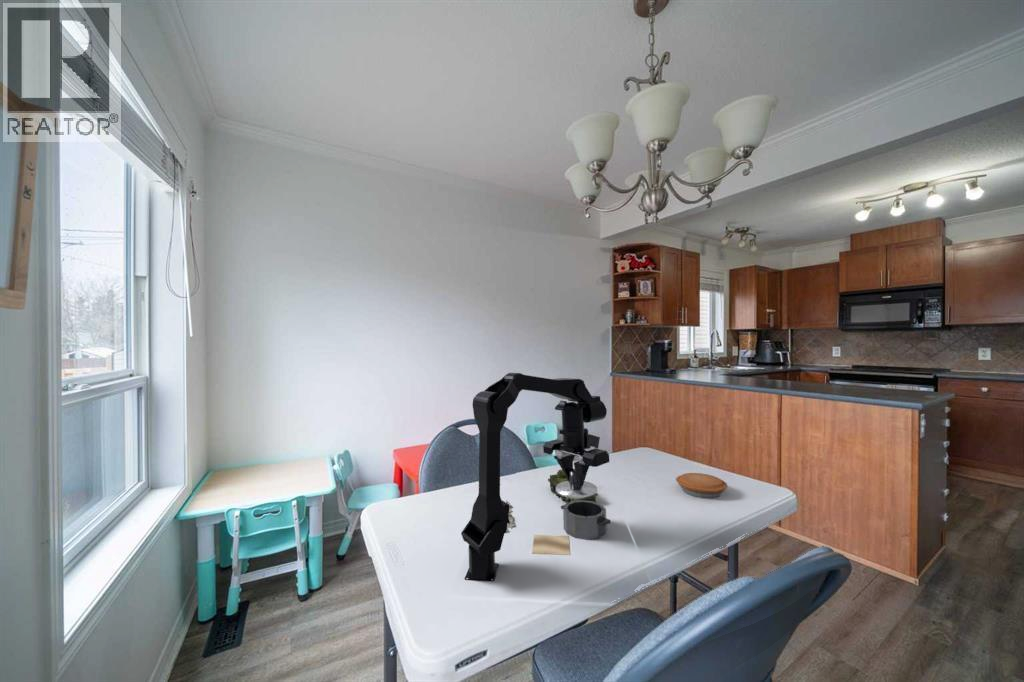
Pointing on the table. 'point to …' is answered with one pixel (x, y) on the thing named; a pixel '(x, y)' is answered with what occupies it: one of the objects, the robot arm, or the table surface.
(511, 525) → the stone fragment
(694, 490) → the pie
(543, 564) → the table surface
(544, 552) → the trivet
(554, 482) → the toy vehicle
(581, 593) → the table surface
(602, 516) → the pot
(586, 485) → the lid
